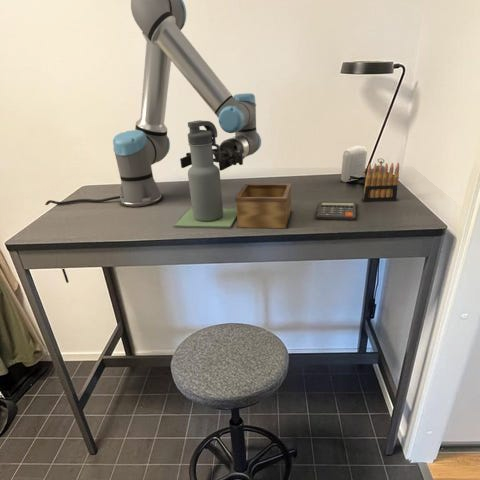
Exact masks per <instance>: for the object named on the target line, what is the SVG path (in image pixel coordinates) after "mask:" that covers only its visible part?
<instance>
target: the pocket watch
mask: <svg viewBox="0 0 480 480" xmlns="http://www.w3.org/2000/svg"><path fill="white" fill-rule="evenodd" d="M377 162H378V163H379V164H378V165H377V172H376V179H377V175H378V170H379V166H380V164H381V163H382V164H384V163H385V160H384V159H383V158H381V160H380V158H378V159H377ZM384 168H385V165H382V176H383V172H384ZM372 173H373V168H371V177H372ZM388 175H389V172H388V173H387V179H388ZM381 182H382V181H381Z"/></svg>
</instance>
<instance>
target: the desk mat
mask: <svg viewBox="0 0 480 480" xmlns="http://www.w3.org/2000/svg"><path fill="white" fill-rule="evenodd" d="M236 219H237V208H223V216H222V217H221V218H219V219H217V220H214V221H208V222H204V221H198V220H196V219H195V218H194V217H193V211H192V208H189V209H188V210H187V211H186V212H185V213H184V214H183V215H182V217H181V218H179V219H178V221H177V222H176V223H175V224H174V228H202V229H203V228H206V229H212V228H213V229H231V228H232V226H233V225H234V223H235V221H236Z"/></svg>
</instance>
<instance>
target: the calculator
mask: <svg viewBox="0 0 480 480" xmlns="http://www.w3.org/2000/svg"><path fill="white" fill-rule="evenodd" d="M356 210H357V202H356V201H334V200H333V201H332V200H331V201H330V200H328V201H327V200H321V201H319V204H318V208H317V212H316V217H315V218H316V220H345V221H346V220H349V221H354V220H356V212H357V211H356Z"/></svg>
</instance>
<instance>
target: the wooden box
mask: <svg viewBox="0 0 480 480" xmlns="http://www.w3.org/2000/svg"><path fill="white" fill-rule="evenodd" d="M291 193H292V183H244V185H243V186H242V188H241V189H240V191H239V192H238V194H237V195H236V196H235V199H234V201H235V202H236V204H235V205H236V209H237V218H236V219H237V228H246V229H247V228H252V229H255V228H256V229H257V228H258V229H286V228H287V225H288V221H289V219H290V215H291V212H292V211H291V209H292V208H291V207H292V206H291V202H292V201H291V200H292V199H291V198H292V194H291Z"/></svg>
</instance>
